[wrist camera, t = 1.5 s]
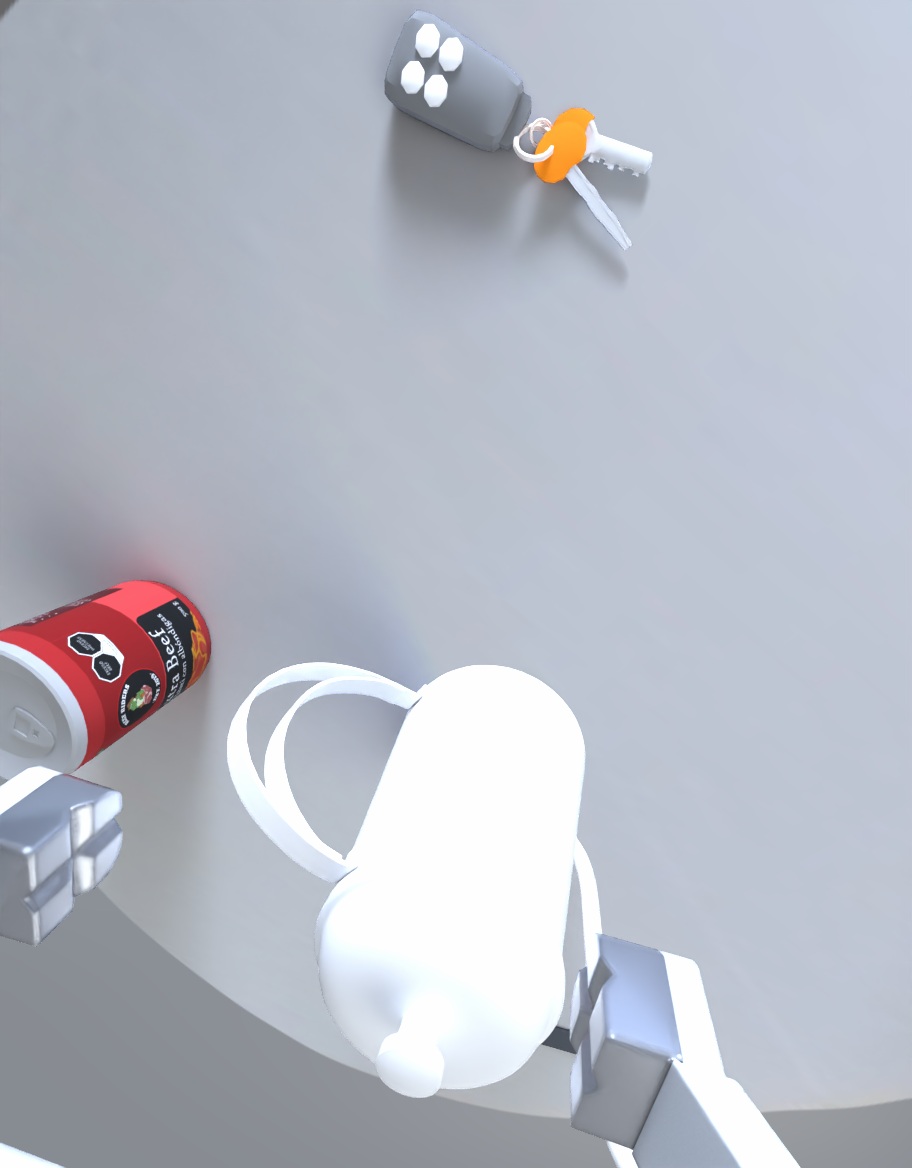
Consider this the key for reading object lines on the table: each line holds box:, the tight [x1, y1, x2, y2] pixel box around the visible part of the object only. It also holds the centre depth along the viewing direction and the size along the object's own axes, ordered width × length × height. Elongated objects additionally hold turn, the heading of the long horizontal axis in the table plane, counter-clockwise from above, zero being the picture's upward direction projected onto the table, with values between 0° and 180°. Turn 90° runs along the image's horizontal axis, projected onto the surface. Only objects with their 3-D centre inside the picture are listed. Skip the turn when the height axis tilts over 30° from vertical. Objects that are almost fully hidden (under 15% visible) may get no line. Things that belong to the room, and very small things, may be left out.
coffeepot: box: [227, 663, 638, 1168], centre depth 26 cm, size 11×25×19 cm, turn 50°
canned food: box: [0, 581, 211, 781], centre depth 33 cm, size 8×8×11 cm
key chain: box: [385, 10, 653, 251], centre depth 25 cm, size 13×4×2 cm, turn 61°
